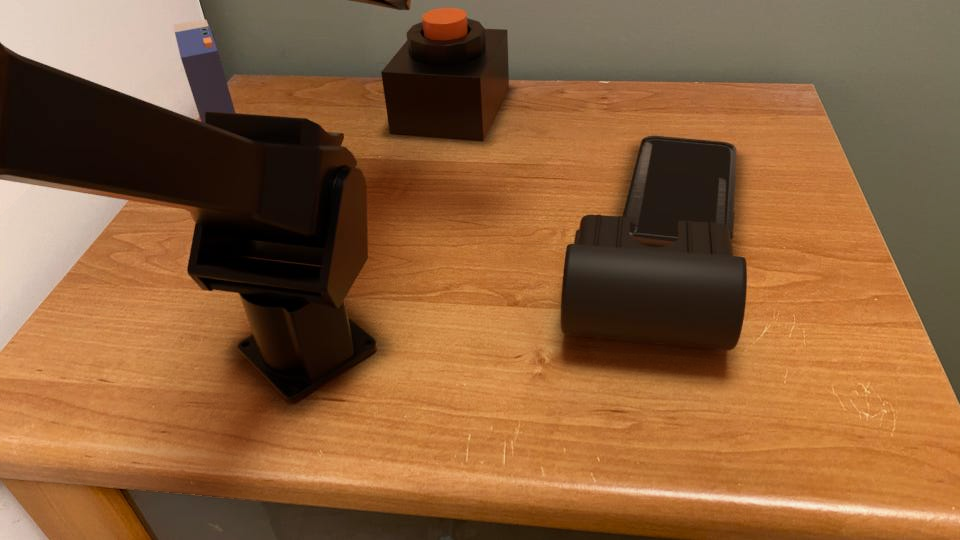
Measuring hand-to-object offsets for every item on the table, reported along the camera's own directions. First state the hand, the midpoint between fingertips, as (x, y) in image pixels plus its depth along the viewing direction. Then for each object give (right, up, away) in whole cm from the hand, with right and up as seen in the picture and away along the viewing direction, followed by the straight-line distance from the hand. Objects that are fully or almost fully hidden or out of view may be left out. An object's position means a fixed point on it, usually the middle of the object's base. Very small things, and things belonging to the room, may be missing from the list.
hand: (405, 3), depth 56 cm
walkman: (-16, -11, +9) cm, 22 cm away
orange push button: (+3, +1, +10) cm, 11 cm away
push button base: (+3, -5, +15) cm, 16 cm away
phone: (+21, -15, +2) cm, 26 cm away
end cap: (+16, -24, -10) cm, 31 cm away
